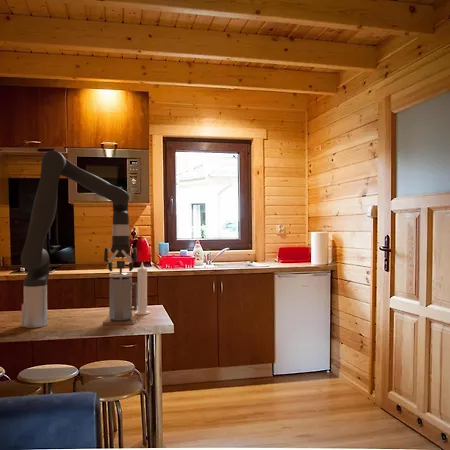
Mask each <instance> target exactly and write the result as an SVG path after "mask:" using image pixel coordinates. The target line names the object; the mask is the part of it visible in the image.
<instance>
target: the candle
mask: <svg viewBox="0 0 450 450" xmlns="http://www.w3.org/2000/svg"><path fill="white" fill-rule="evenodd" d="M150 312H151V311H149V310H148V268H147V267H145V266H144V262H143V261H142V262H141V264H140V267H138V268H137V310H136V311H135V312H134V314H135V315H136V314H137V315H136V316H143V315H149V314H150Z"/></svg>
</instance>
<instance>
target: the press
mask: <svg viewBox="0 0 450 450" xmlns="http://www.w3.org/2000/svg"><path fill="white" fill-rule="evenodd" d="M108 279H109V282H108V283H109V290H108V291H109V294H108V295H109V301H108V302H109V305H108V306H109V309H108V310H109V312H108V313H109V315H108V317H107V318H106V319H105V320H103V321H102V326H117V325H118V326H122V325H124V326H125V325H128V326H129V325H131V326H132V325H134V324H135V323H136V322H137V320H138V319H139V315H133V311H135V312H136V311H138V282H133V277H130V276H128V277H122V279H120V277H110V278H108ZM135 321H136V322H135Z"/></svg>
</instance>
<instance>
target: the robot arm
mask: <svg viewBox="0 0 450 450" xmlns="http://www.w3.org/2000/svg"><path fill="white" fill-rule="evenodd" d="M40 166H41V168H40V176H39V177H40V178H39V183H38V185H37V189H36V192H35V197H34V200H33V205H32V209H31V214H30V221H29V226H28V231H27V234H26V235H27V236H26V239H25V243H24V245H23V248H22V251H21V255H20V262H21V263H20V264H21V265H22V267H23V268H24V269H25V270H27V274H26V275H25V276H26V277H25V278H24V280H23V303H21V328H28V329H30V328H31V329H33V328H35V329H36V328H42V327H45V326H47V325H48V280H49V277H50V255H49V253H48V250H46V249H44V244H45V239H46V236H47V235H48V234H49V233H48V232H49V231H50V229H51V227H52V226H53V223H54V221H55V218H56V213H57V212H56V211H57V209H58V208H57V206H58V188H59V187H58V186H59V181H60V178H61V176H63V177H65V178H67V179H69V180H71V181H73V182H74V183H77V184H79V185H80V186H81V187H83V188H85V189H86V190H88V191H90V192H93V193H94V194H96V195H98V196H100V197H102V198H105V199H107V200H109V201H111V202H112V227H111V228H112V229H111V248H109V247H105V248H104V255H103V261H104V262H106V263H107V265H108V267H107V268H108V271H109V272H113V261H114V260H115V258H118V259H119V258H121V259H123V258H126V259H127V260H128V262H129V263H128V264H129V265H128V267H129V268H128V271H129V272H132V271H133V270H134V262H137V261H138V250H137V249H138V248H137V247H130V234H131V232H130V218H129V217H130V216H129V201H130V195H129V193H128V192H127V191H126V190H124V189H123V188H120V187H118V186H116V185H114V184H111V183H110V182H108V181H107V180H105V179H103V178H101V177H99V176H97V175H95V174H93V173H91V172H88V171H86V170H85V169H82V168H80V167H78V166H77V165H75V164H74V163H72V162H71V161H70V160H68V158H66V157H65V156H64V155H63V154H62V153H61V152H59V151H57V150H53V149H52V150H47V152H45V153H44V154H43V156H42V159H41V165H40ZM110 252H112V255H111V257H110V258H109V253H110ZM130 252H131V253H132V254H133V255H132V256H133V258H132V256H131V255H130Z"/></svg>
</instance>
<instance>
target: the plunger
mask: <svg viewBox="0 0 450 450" xmlns="http://www.w3.org/2000/svg"><path fill="white" fill-rule="evenodd" d="M116 269H118V270H119V272H109V274H108V276H109V277H110V278H117V277H120V279H122V277H132V276H133V272H124V271H123V269H126V260H116Z"/></svg>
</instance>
